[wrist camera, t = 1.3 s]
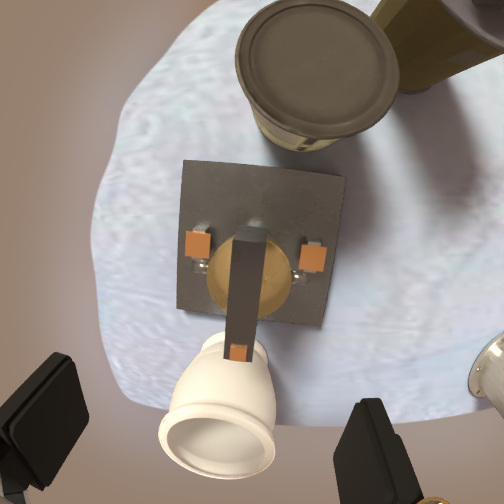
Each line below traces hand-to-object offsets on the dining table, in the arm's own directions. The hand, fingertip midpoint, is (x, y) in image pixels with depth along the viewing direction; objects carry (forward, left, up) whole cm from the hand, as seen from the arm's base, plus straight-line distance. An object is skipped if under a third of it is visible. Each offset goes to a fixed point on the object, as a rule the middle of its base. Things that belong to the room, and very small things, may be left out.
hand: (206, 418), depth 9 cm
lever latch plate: (0, 0, -25) cm, 25 cm away
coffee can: (-3, -15, -26) cm, 30 cm away
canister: (-14, -24, -25) cm, 38 cm away
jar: (+1, +15, -25) cm, 30 cm away
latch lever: (0, 0, -16) cm, 16 cm away
